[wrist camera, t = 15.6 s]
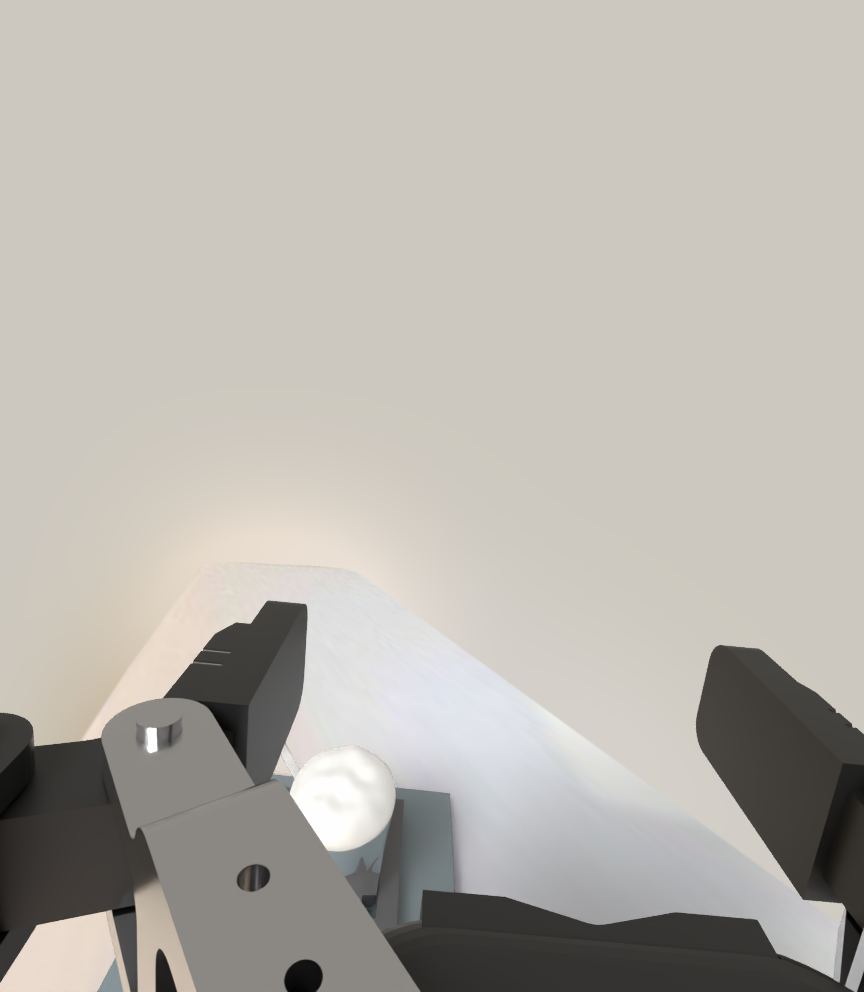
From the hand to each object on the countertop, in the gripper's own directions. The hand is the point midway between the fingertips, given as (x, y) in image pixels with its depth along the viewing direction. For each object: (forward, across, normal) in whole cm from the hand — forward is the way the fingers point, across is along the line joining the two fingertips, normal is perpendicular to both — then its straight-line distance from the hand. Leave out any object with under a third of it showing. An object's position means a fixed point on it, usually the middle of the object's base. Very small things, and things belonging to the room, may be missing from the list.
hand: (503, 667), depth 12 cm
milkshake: (+14, +4, +21) cm, 25 cm away
